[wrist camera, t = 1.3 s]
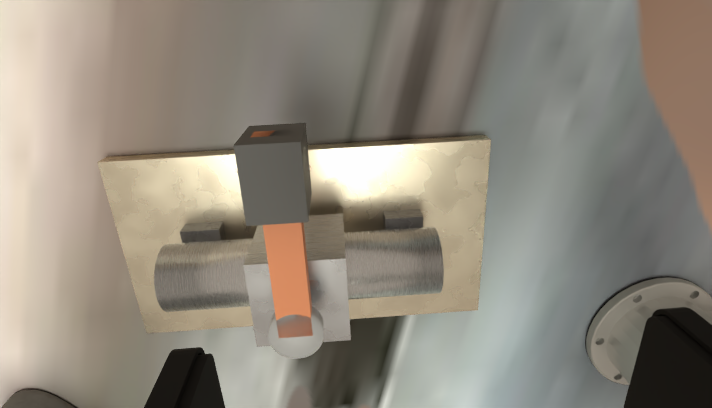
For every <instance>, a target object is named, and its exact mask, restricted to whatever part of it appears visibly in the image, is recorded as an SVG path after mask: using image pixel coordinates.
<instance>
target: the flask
mask: <svg viewBox="0 0 712 408" xmlns="http://www.w3.org/2000/svg"><path fill="white" fill-rule="evenodd" d="M2 408H75V407H73V406H72V405H70V404H69V403H67V402H65V401H63V400H62V399H60V398H58V397H56V396H54V395H52V394H49V393H47V392H44V391H40V390H22V391H19V392H16V393H15V394H14V395H13V396H11V397H10V398H9V400H8V401H7V402H6V403H5V404H4V405H3V407H2Z"/></svg>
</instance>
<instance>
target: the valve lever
mask: <svg viewBox="0 0 712 408" xmlns="http://www.w3.org/2000/svg"><path fill="white" fill-rule="evenodd" d="M234 152H235V158H236V165H237V171H238V177H239V183H240V190H241V196H242V202H243V209H244V215H245V221H246V226H256V225H263V231H264V238H265V245H266V252H267V259H268V266H269V273H270V280H271V287H272V294H273V301H274V308H275V313H274V314H273V316H272V319H271V324H270V329H269V334H268V339H269V343H270V345H271V347H272V348H273V349H274V350H275V351H276V352H277V353H279V354H280V355H282V356H285V357H288V358H304V357H307V356H310V355H312V354H313V353H315V352H316V351H317V350H318V349H319V348H320V346H321V344H322V342H323V326H324V323H323V318H322V316H321V314H320V312H319V311H318V310H317V309H316V308H315V307H313V306H312V301H311V291H310V282H309V272H308V262H307V252H306V242H305V233H304V223H303V222H308V221H309V212H310V203H311V195H312V190H311V179H310V168H309V157H308V146H307V135H306V124H305V123H296V124H278V125H261V126H249V127H248V128H247V129H246V131H245V132H244V133H243V134H242V136H241V137H240V138H239V139H238V141H237V142H236V143H235V144H234Z"/></svg>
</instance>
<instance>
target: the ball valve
mask: <svg viewBox="0 0 712 408" xmlns="http://www.w3.org/2000/svg"><path fill="white" fill-rule="evenodd" d="M490 145H491V139H490V138H488V137H487V136H485V135H474V136H457V137H439V138H422V139H405V140H388V141H370V142H353V143H336V144H318V145H307V146H308V157H309V168H310V179H311V190H312V195H311V203H310V212H309V221H308V222H303V223H304V233H305V242H306V252H307V262H308V272H309V282H310V291H311V301H312V306H313V307H315V308H316V309H317V310H318V311H319V312H320V314H321V316H322V318H323V323H324V326H323V342H329V341H343V340H351V336H350V319H358V318H372V317H386V316H400V315H415V314H429V313H443V312H457V311H471V310H478V301H479V288H480V275H481V262H482V249H483V236H484V223H485V210H486V197H487V184H488V171H489V158H490ZM98 166H99V169H100V173H101V176H102V180H103V183H104V187H105V190H106V194H107V197H108V200H109V204H110V207H111V211H112V214H113V218H114V221H115V225H116V228H117V232H118V235H119V239H120V242H121V245H122V249H123V252H124V256H125V259H126V263H127V266H128V270H129V273H130V277H131V280H132V284H133V287H134V291H135V294H136V297H137V301H138V304H139V308H140V311H141V315H142V318H143V322H144V325H145V329H146V332H147V333H159V332H174V331H188V330H202V329H216V328H230V327H244V326H254V332H255V338H256V344H257V347H260V346H271V345H270V343H269V339H268V334H269V329H270V324H271V319H272V316H273V314H274V313H275V308H274V301H273V294H272V287H271V280H270V273H269V266H268V259H267V252H266V245H265V238H264V231H263V225H256V226H246V221H245V215H244V209H243V202H242V196H241V190H240V183H239V177H238V171H237V165H236V158H235V152H234V149H232V150H214V151H197V152H180V153H163V154H145V155H128V156H111V157H106V158H104V159H102V160H101V161H99V162H98Z"/></svg>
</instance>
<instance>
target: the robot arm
mask: <svg viewBox="0 0 712 408" xmlns="http://www.w3.org/2000/svg"><path fill="white" fill-rule="evenodd" d="M586 349H587V353H588V357H589V358H590V360H591V362H592V364H593V365H594V366H595V368H596V369H597V370H598V371H599V373H601V374H602V375H603V376H604V377H605V378H607V379H609V380H611V381H613V382H616V383H620V384H624V385H629V389H628V393H627V396H626V400H625V404H624V408H712V297H711V296H710V295H709V294H708V293H707V292H705V291H704V290H703V289H701V288H700V287H699V286H697V285H695V284H694V283H692V282H690V281H687V280H683V279H679V278H670V277H669V278H656V279H652V280H647V281H643V282H641V283H638V284H636V285H633V286H631V287H629V288H627V289H625V290H623V291H622V292H620V293H619V294H617V295H616V296H615V297H613V298H612V299H611V300H609V301H608V302H607V303H606V304H605V305H604V306H603V307H602V308H601V309H600V311H599V312H598V314H597V315H596V316H595V318H594V319H593V321H592V323H591V326H590V328H589V331H588V334H587V338H586ZM144 408H225V405H224V401H223V396H222V392H221V388H220V384H219V379H218V375H217V371H216V366H215V362H214V358H213V356H212V354H205V353H204V350H203V349H202V348H200V347H198V348H186V349H174V350H172V351H171V352H170V354H169V356H168V358H167V360H166V362H165V364H164V366H163V368H162V371H161V373H160V375H159V377H158V379H157V381H156V383H155V385H154V388H153V390H152V392H151V394H150V396H149V398H148V400H147V402H146V405H145V407H144Z"/></svg>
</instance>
